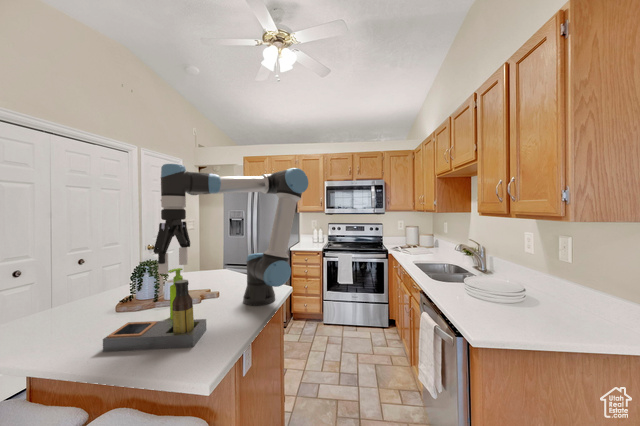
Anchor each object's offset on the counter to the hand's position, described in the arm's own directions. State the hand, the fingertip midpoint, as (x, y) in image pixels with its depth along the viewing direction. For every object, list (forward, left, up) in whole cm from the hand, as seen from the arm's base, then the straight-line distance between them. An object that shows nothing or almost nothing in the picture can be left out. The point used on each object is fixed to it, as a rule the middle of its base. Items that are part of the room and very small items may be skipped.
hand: (174, 268), depth 90 cm
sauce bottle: (-4, +3, -24) cm, 24 cm away
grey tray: (+4, +3, -23) cm, 24 cm away
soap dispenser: (+6, -16, -24) cm, 29 cm away
